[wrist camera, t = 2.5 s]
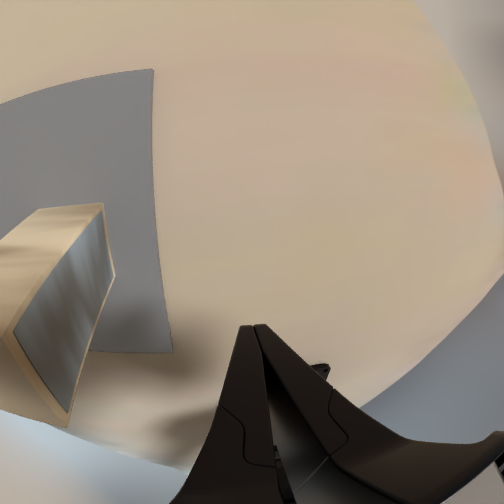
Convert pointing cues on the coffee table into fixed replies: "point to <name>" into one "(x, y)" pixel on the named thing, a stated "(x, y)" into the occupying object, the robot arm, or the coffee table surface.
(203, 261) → the coffee table surface
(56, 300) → the birch block
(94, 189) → the mat
